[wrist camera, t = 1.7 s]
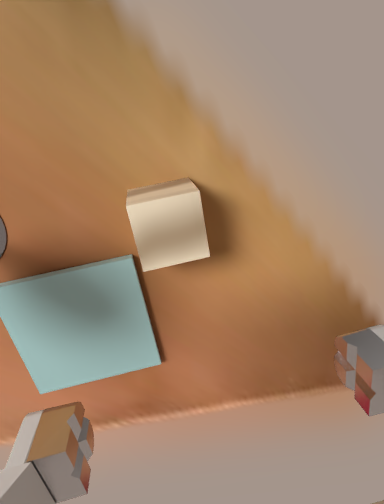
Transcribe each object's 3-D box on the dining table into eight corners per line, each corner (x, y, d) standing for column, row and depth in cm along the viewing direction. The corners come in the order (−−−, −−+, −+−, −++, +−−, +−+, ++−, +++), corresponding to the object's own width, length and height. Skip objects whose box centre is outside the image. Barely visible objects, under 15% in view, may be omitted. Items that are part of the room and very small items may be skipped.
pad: (-10, 285, 27) (-14, 290, 26) (131, 254, 28) (132, 257, 27) (42, 387, 32) (40, 394, 31) (160, 358, 33) (161, 363, 32)
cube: (127, 189, 25) (125, 206, 21) (188, 177, 26) (199, 190, 21) (141, 245, 28) (143, 271, 23) (198, 233, 28) (210, 256, 23)
